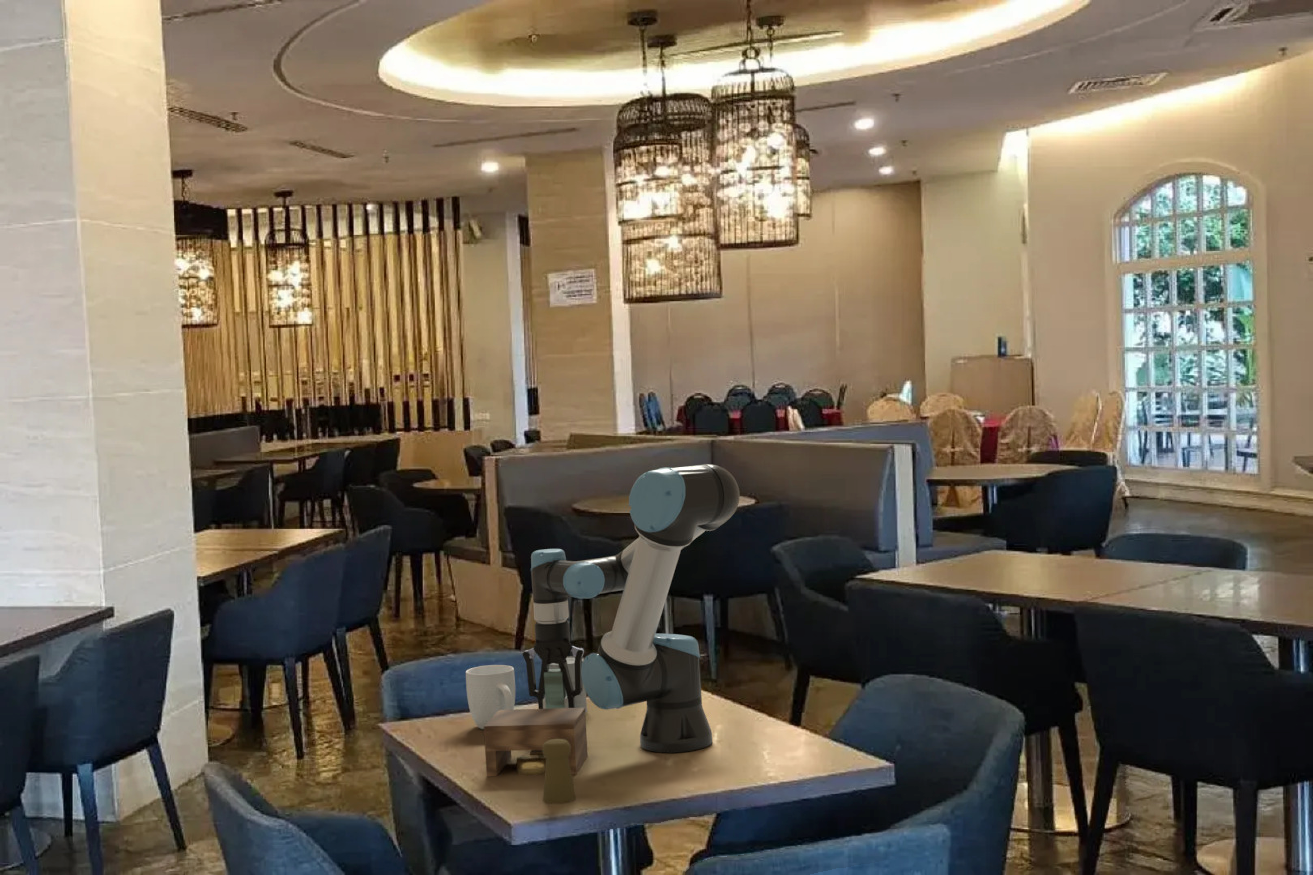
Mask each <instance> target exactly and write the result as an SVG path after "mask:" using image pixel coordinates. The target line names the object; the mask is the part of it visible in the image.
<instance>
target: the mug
mask: <svg viewBox="0 0 1313 875" xmlns="http://www.w3.org/2000/svg"><path fill="white" fill-rule="evenodd" d="M515 678H516V677H515V669H514V667H513V666H511V665H505V664H490V665H489V664H488V665H479V666H475V667H472V668H468V669H467V670H466V671H465V683H466V684H465V685H466V686H465V688H466V696H467V697H466V698H467V703H468V708H469V713H470V715H471V718H472V720H473V721H474V723H475V724H474V725H476V727H477V728H478V729H480V730H484V726H485V725H486V723H487V722H488V721H489V720H490V719H491V718H492V717H493V716H494V715H495V714H496V713H497V712H498V711H499V710H515V703H516V683H515V682H516V680H515Z"/></svg>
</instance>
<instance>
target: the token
mask: <svg viewBox="0 0 1313 875" xmlns="http://www.w3.org/2000/svg"><path fill="white" fill-rule="evenodd" d="M545 767H546V758H545V756H544V755H543V754H542V753H535V754H530V753H527V754H523V755H520V756H518V757H517V758H516V771H517V774H519V775H523V774H524V776H526V775H527V776H528V775H529V776H536V775H535V774H538V775H543V774H542V773H544V774H545ZM525 774H526V775H525Z"/></svg>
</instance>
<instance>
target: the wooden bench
mask: <svg viewBox="0 0 1313 875" xmlns="http://www.w3.org/2000/svg"><path fill="white" fill-rule="evenodd" d="M483 733H484V735H483V736H484V752H485V753H484V754H485V768H486V769H485V770H486V777H497V776H498V775H499V774H500V773H501V771H502V770H503V769H504V768H505V766H506V765H507V764H508V763H509V761H510V760H511V759H512V752H514V751H518V752H519V751H531V750H543V745H544V743H545V742H546V741H548V740H552V739H564V740H567V741H568V742H569V744H570V747H571V752H570V755H569V756H568V759H569V765H570V770H571V775H577V774H578V773H579V771H580V769H581V768H582V766H583V764H584V763H585V761H586V759H587V757H589V756H588V740H587V739H588V738H587V736H588V735H587V720H586V713H585V708H552V709H539V708H524V709H522V708H520V709H519V708H518V709H515V708H514V710H499V711H498V712H497V713H496V714H495V715H494V716H493V717H492V718H491V719H490V720H489V721H488V722H487V723H486V725H485V726H484V729H483Z"/></svg>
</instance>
